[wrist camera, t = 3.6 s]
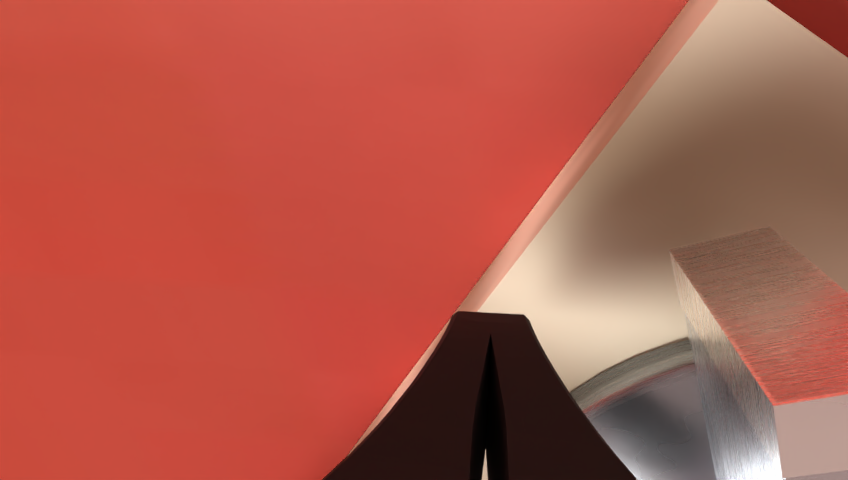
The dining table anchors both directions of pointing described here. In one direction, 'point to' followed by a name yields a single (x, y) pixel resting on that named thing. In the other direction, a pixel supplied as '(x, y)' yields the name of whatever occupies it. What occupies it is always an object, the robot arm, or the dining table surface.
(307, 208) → the dining table surface
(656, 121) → the stand plate
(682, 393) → the dial
